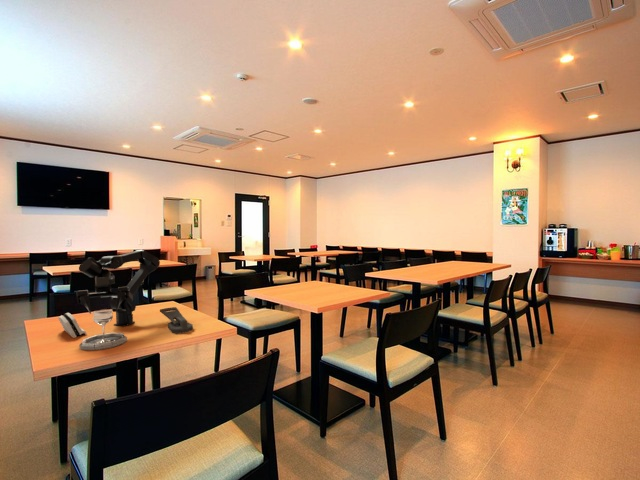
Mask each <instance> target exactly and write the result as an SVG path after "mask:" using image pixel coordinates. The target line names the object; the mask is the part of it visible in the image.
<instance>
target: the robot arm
mask: <svg viewBox="0 0 640 480" xmlns="http://www.w3.org/2000/svg"><path fill="white" fill-rule="evenodd" d="M132 261H137V262H138V263H139V269H138V270H137V272H136V273H135V274H134V276H133V277H132V278H131V280H130V281H129V282H128V283H127V285H126V286H118V287H117V290H112V285H113V284H115V283H116V281H115V280H116V279H115V277H116V276H115V275H114V273H112V272H111V271H110V270H117V269H119V268H121V267H122V266H123V265H124V264H127V263H131V262H132ZM160 265H161V262H160V259H159V257H157V256H155V255H154V254H153V253H150V252H148V251H147V250H145V249H137V250H135V251H134V250H133V251H130V252H126V253H123V254H120V255H107V256H102V257H101V258H100V259H99V260H98V261H97V260H95V259H94V258H93V257H87V258H86V260H84V261H83V262H81V263H80V264H79V266H78V270H79V272H81V273H82V274H84V275H86V276H88V277H89V278H94V281H95V282H94V283H95V284H94V290H95V292H89V290H88V289H85V290H84V289H83V290H77V291H76V294H75V297H76V303H77V304H80V306H81V305H82V306H84V307H85V308H86V309H87V311H88V313H89V314H90V315H91V314H92V308H91V301H90V299H94V298H109V297H110V300H109V306H110V309H112V313H115V319H116V320H115V322H116V323H114V324H113V326H115V327H116V326H118V327H119V326H120V327H126V326H129V325H131V324H134V323H136V321H134V319H133V318H134V315H133V312H135V311H136V308H137V306H136V304H135V303H133V301H134V295H135V293H136V292H137V290H138V289H139V288H140V287H141V285H142V284H143V283H144V281H145V279H146V278H147V277H148V275H150V274H151V273H152V272H155V270H157V269H158V268H159V266H160Z"/></svg>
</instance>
